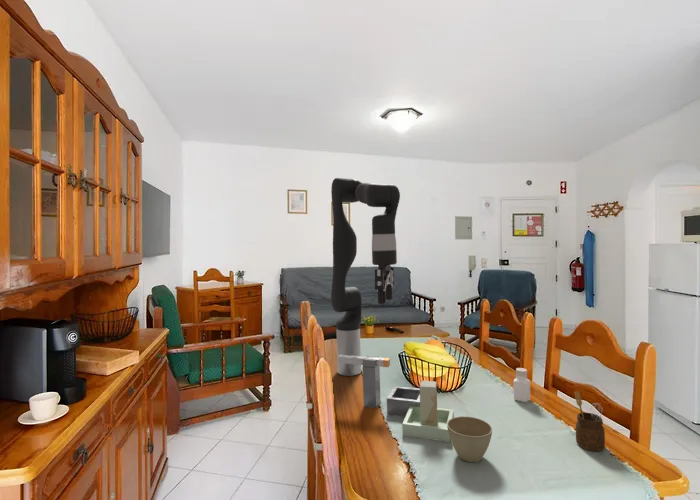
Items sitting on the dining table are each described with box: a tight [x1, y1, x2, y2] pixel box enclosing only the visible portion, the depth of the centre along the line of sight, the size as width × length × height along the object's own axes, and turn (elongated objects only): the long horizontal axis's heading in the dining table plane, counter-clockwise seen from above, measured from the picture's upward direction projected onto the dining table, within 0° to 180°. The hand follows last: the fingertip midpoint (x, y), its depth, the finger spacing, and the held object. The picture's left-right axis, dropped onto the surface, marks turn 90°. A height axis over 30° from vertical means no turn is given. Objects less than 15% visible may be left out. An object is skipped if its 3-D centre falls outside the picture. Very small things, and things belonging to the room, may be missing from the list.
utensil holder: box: [574, 391, 606, 452], centre depth 91 cm, size 6×6×12 cm
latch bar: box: [338, 355, 391, 368], centre depth 119 cm, size 2×16×2 cm, turn 70°
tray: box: [401, 406, 455, 443], centre depth 103 cm, size 12×12×3 cm
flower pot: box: [447, 415, 493, 463], centre depth 88 cm, size 10×10×7 cm
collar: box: [386, 385, 420, 417], centre depth 115 cm, size 10×10×4 cm
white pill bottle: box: [513, 367, 531, 403], centre depth 118 cm, size 4×4×10 cm
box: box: [419, 380, 438, 426], centre depth 103 cm, size 5×4×11 cm
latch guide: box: [361, 355, 381, 409], centre depth 118 cm, size 5×4×14 cm
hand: (385, 301), depth 117 cm, fingers open, 8 cm apart
